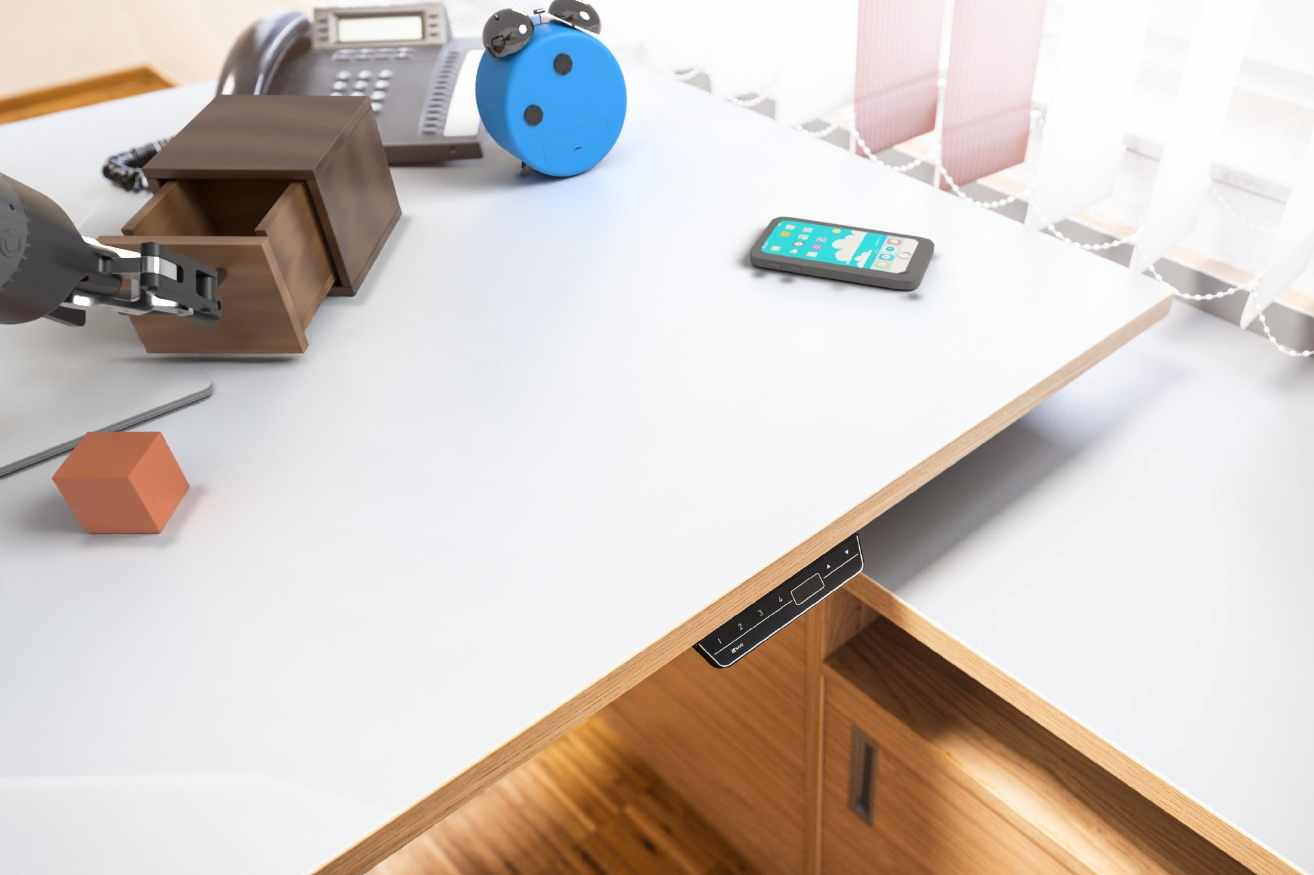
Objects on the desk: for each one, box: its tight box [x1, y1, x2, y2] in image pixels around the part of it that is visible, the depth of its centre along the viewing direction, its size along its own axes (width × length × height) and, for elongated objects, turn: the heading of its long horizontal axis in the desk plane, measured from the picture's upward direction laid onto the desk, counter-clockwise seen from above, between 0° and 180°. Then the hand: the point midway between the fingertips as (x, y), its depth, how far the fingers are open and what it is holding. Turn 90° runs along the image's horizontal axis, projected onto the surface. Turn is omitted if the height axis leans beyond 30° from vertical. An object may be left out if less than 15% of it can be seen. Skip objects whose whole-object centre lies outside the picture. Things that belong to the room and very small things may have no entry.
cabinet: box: [141, 93, 403, 297], centre depth 87 cm, size 15×13×11 cm
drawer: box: [95, 179, 339, 355], centre depth 77 cm, size 18×11×9 cm, turn 2°
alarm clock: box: [474, 0, 628, 177], centre depth 98 cm, size 13×6×15 cm, turn 131°
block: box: [51, 431, 190, 534], centre depth 65 cm, size 4×4×4 cm
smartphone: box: [749, 216, 935, 291], centre depth 91 cm, size 9×1×15 cm
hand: (147, 311), depth 68 cm, fingers open, 8 cm apart
